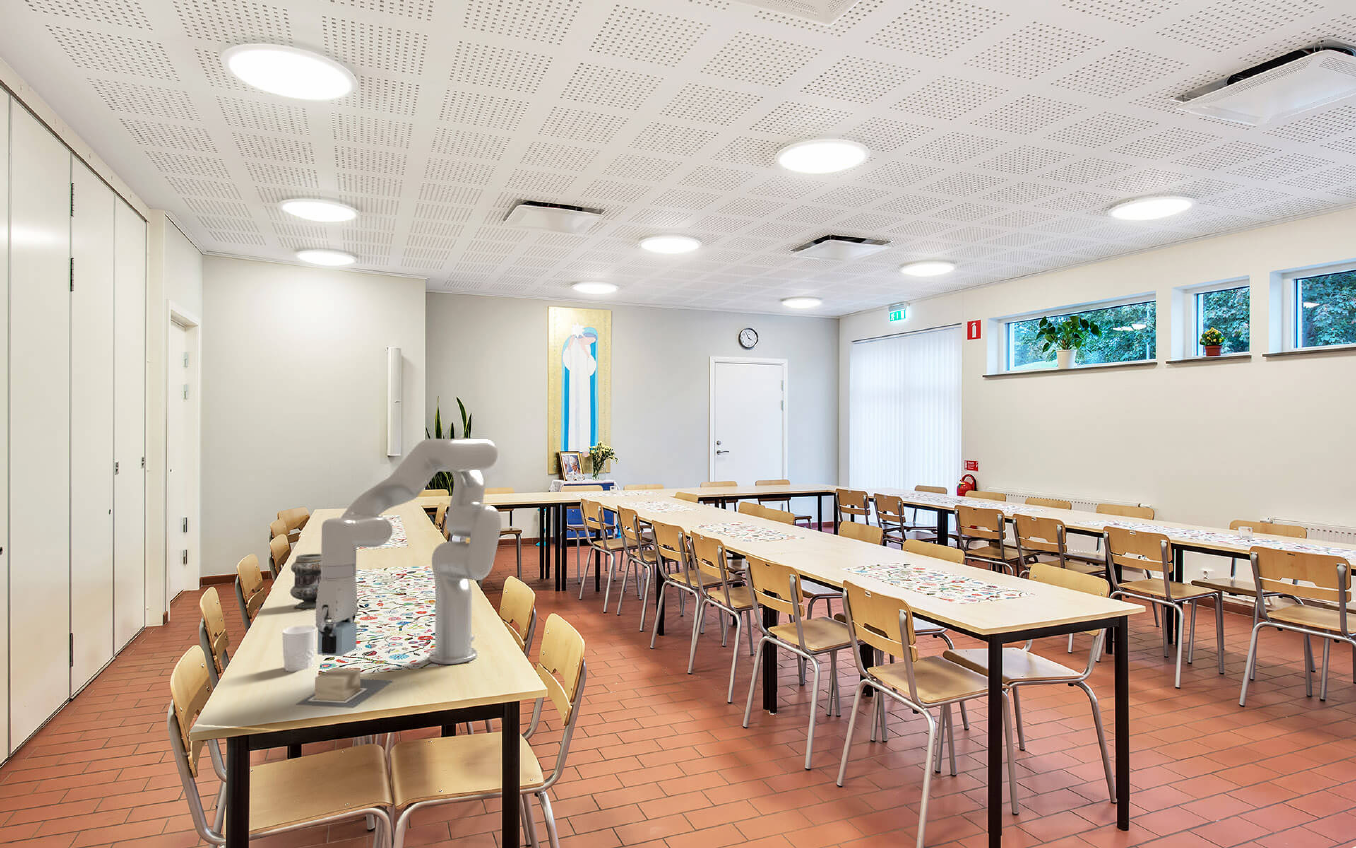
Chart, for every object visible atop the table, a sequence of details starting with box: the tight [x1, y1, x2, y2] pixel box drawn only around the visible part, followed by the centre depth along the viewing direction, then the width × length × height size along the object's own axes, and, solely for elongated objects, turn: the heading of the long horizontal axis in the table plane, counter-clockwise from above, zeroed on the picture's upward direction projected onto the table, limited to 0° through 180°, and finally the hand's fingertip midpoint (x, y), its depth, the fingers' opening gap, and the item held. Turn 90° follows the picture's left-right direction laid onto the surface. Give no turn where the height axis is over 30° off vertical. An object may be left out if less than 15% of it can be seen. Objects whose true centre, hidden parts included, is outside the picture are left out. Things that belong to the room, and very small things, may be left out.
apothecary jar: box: [289, 553, 321, 611], centre depth 263 cm, size 12×12×18 cm
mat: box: [295, 678, 394, 709], centre depth 178 cm, size 18×14×1 cm
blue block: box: [316, 622, 358, 656], centre depth 176 cm, size 6×6×6 cm
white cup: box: [281, 625, 317, 673], centre depth 197 cm, size 8×8×10 cm
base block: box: [314, 667, 361, 701], centre depth 176 cm, size 7×7×5 cm
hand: (337, 648), depth 176 cm, fingers closed on blue block, 6 cm apart
